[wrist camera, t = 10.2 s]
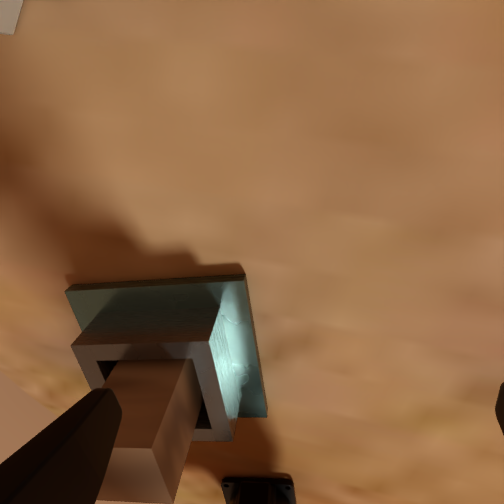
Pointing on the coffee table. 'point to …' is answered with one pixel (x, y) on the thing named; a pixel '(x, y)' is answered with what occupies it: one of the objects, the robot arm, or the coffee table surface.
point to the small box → (9, 15)
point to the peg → (151, 428)
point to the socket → (177, 339)
